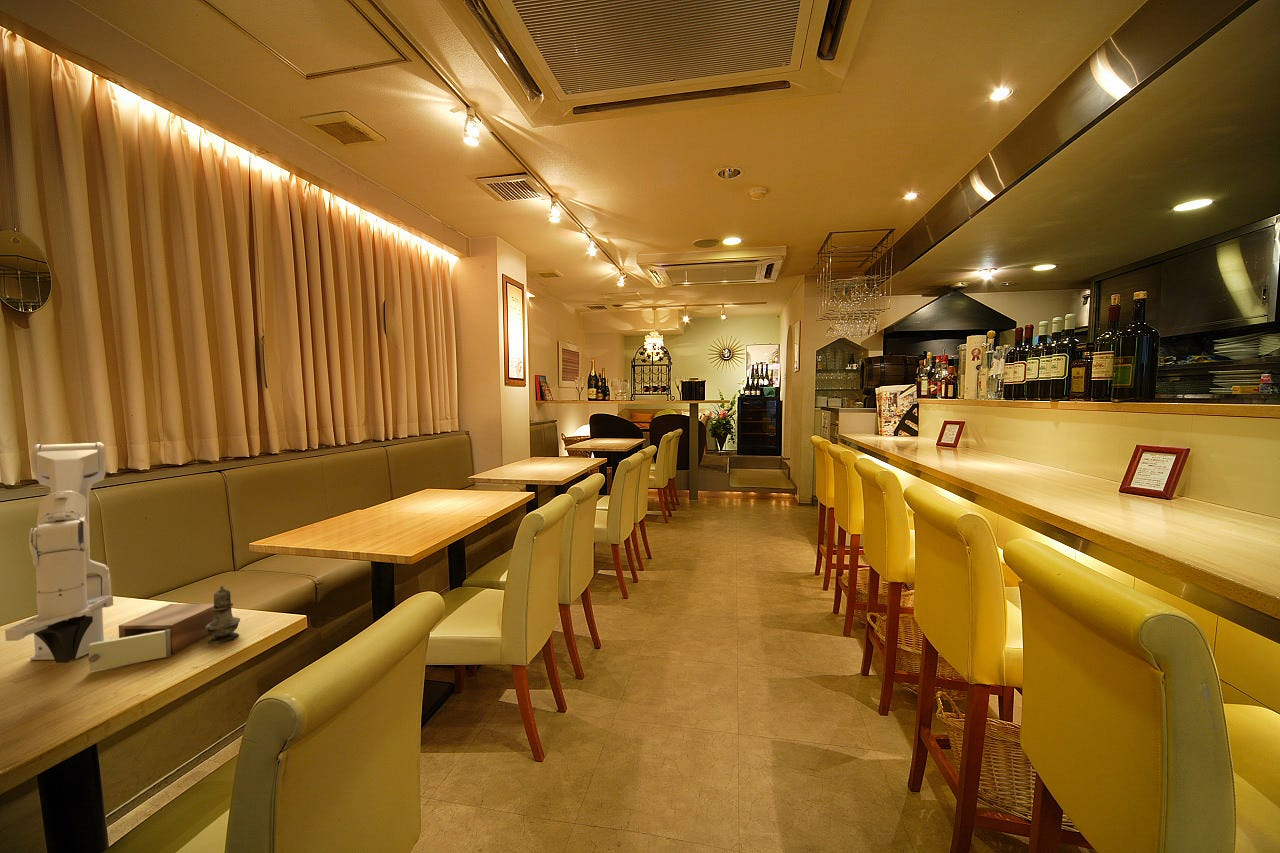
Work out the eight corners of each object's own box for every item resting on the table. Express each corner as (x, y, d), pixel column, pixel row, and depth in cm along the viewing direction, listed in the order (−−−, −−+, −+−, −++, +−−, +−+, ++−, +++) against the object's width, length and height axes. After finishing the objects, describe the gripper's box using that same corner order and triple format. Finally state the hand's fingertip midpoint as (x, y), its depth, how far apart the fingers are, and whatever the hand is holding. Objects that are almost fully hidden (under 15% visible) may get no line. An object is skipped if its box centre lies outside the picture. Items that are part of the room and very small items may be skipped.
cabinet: (119, 655, 99) (118, 625, 99) (172, 630, 110) (170, 603, 110) (172, 655, 99) (171, 625, 99) (219, 630, 110) (218, 603, 110)
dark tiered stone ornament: (220, 646, 102) (218, 591, 102) (198, 644, 103) (196, 589, 103) (247, 634, 108) (246, 582, 108) (227, 631, 109) (225, 580, 109)
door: (87, 675, 91) (86, 646, 91) (92, 670, 93) (91, 642, 92) (168, 659, 97) (167, 632, 97) (171, 655, 98) (170, 628, 98)
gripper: (33, 603, 79) (37, 683, 79) (127, 573, 93) (130, 641, 94) (-10, 603, 79) (-5, 683, 79) (91, 573, 93) (94, 641, 94)
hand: (65, 660), depth 87 cm, fingers closed
